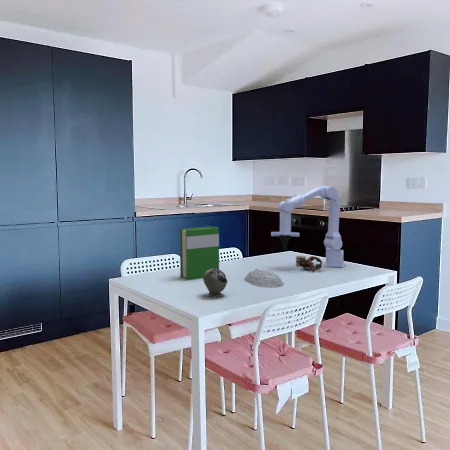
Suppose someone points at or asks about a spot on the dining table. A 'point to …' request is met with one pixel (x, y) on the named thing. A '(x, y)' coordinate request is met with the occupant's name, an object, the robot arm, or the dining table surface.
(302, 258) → the letter cube
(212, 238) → the hardback book
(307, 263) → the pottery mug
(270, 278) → the grey rock
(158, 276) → the dining table surface
